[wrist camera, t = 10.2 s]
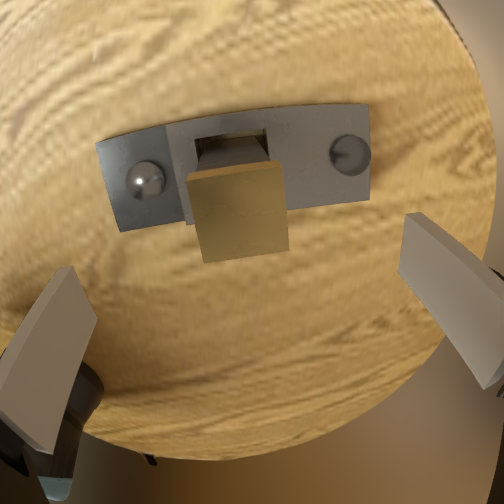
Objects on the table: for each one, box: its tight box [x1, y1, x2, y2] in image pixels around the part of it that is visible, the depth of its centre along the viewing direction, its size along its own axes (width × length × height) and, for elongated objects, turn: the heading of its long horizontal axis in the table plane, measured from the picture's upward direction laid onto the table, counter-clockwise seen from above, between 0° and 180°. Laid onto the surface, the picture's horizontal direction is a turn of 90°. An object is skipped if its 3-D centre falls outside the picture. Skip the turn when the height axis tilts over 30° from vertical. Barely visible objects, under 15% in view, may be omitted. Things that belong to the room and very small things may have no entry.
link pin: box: [186, 136, 289, 263], centre depth 20 cm, size 5×5×13 cm
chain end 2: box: [166, 103, 371, 225], centre depth 25 cm, size 17×9×3 cm, turn 97°
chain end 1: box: [95, 107, 275, 232], centre depth 25 cm, size 16×9×2 cm, turn 97°
